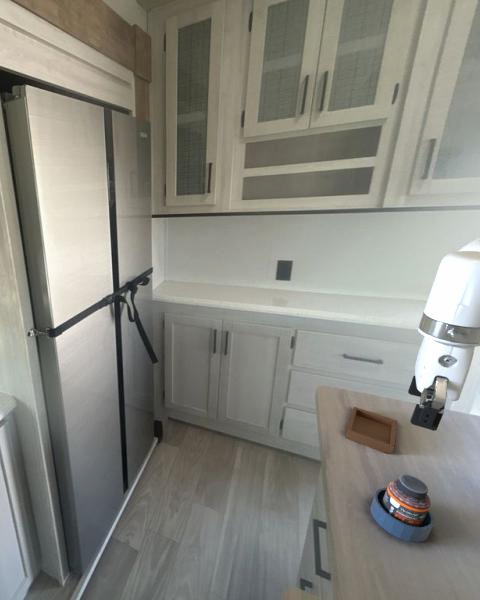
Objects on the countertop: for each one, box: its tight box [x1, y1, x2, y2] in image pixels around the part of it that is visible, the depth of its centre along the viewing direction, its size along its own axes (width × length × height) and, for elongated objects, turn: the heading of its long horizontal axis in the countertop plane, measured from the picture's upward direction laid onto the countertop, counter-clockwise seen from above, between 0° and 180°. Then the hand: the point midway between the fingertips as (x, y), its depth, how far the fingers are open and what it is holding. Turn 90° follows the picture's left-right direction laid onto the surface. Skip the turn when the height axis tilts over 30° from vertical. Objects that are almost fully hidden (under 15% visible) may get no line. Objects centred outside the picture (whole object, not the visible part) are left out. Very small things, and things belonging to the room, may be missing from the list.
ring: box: [369, 487, 435, 544], centre depth 66 cm, size 8×8×5 cm
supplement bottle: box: [380, 474, 432, 527], centre depth 64 cm, size 6×6×11 cm
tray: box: [344, 406, 398, 455], centre depth 87 cm, size 12×9×2 cm
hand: (420, 410), depth 60 cm, fingers open, 9 cm apart
